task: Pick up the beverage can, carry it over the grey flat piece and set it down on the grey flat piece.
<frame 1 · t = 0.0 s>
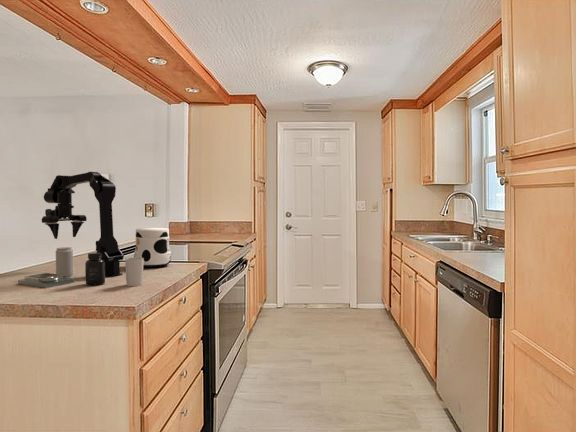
hand: (65, 237, 193), 15 cm above the worktop, tool pointing down, fingers open, 9 cm apart
beverage can: (64, 276, 180), on the worktop
supplement bottle: (95, 284, 164), on the worktop
grey flat piece: (46, 283, 165), on the worktop
drinking glass: (134, 285, 163), on the worktop
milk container: (152, 266, 207), on the worktop
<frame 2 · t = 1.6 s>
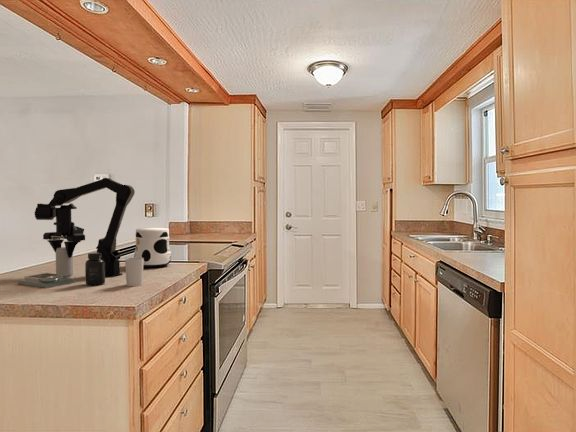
hand: (64, 257, 179), 8 cm above the worktop, tool pointing down, fingers closed on beverage can, 6 cm apart
beverage can: (64, 276, 180), on the worktop, touching gripper
everything else where it was.
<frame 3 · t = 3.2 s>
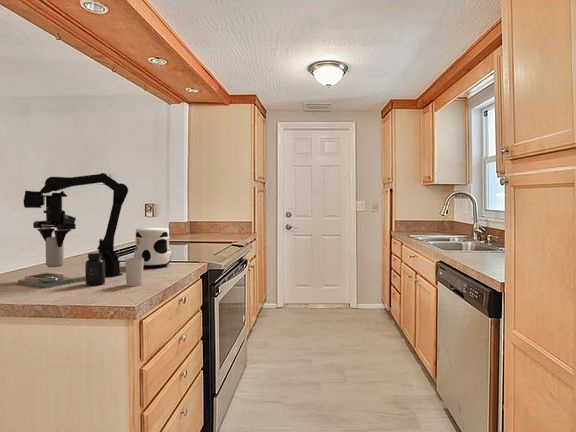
hand: (54, 246, 173), 13 cm above the worktop, tool pointing down, fingers closed on beverage can, 6 cm apart
beverage can: (54, 266, 174), point 5 cm above the worktop, touching gripper
everything else where it was.
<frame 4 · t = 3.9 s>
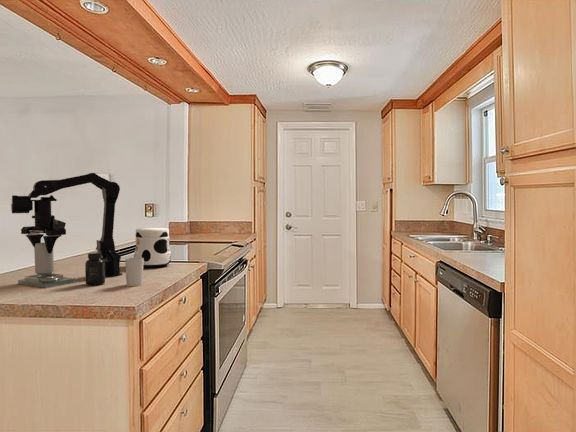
hand: (44, 252, 167), 11 cm above the worktop, tool pointing down, fingers closed on beverage can, 6 cm apart
beverage can: (44, 274, 167), point 3 cm above the worktop, touching gripper
everything else where it was.
when the fingers open (10 cm above the worktop, at t = 4.5 s): beverage can stays where it is, resting on grey flat piece.
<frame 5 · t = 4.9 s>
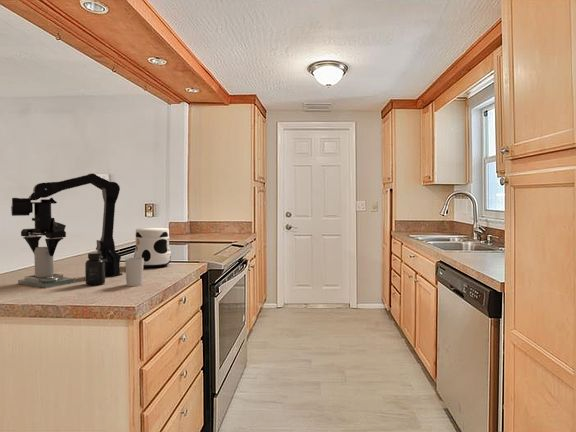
hand: (43, 255, 167), 10 cm above the worktop, tool pointing down, fingers open, 9 cm apart
beverage can: (44, 278, 167), point 2 cm above the worktop, touching grey flat piece
everything else where it was.
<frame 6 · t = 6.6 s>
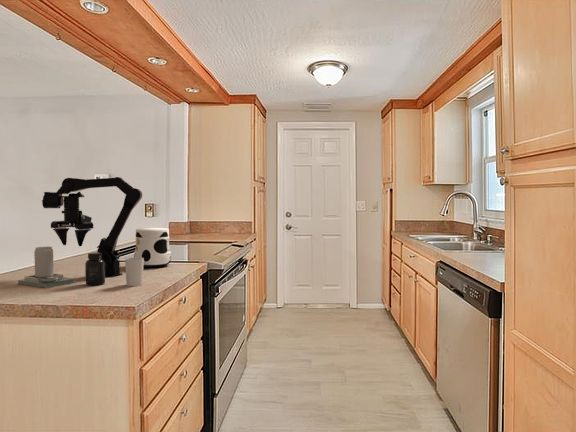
hand: (72, 245, 178), 13 cm above the worktop, tool pointing down, fingers open, 9 cm apart
nothing on the worktop moved.
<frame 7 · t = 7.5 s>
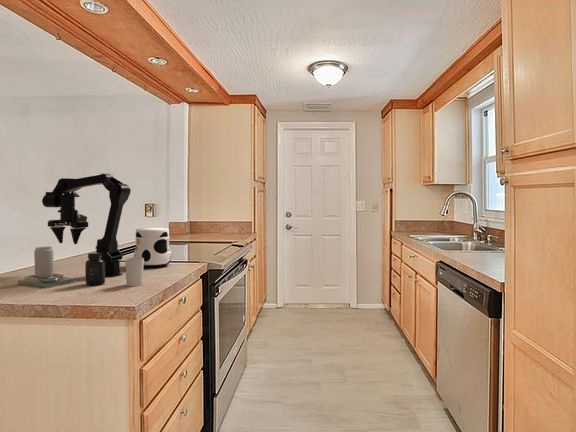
hand: (68, 243, 185), 13 cm above the worktop, tool pointing down, fingers open, 9 cm apart
nothing on the worktop moved.
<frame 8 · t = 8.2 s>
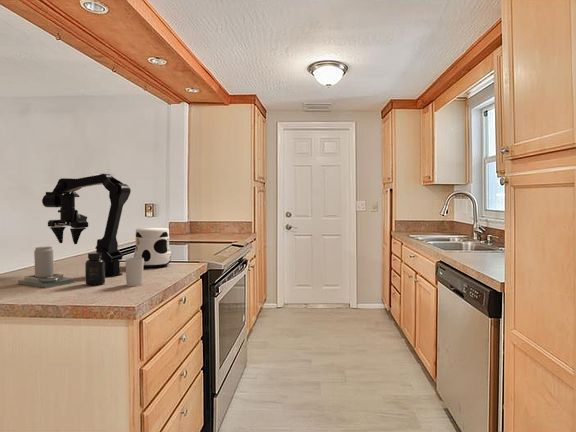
hand: (68, 243, 185), 13 cm above the worktop, tool pointing down, fingers open, 9 cm apart
nothing on the worktop moved.
at the end: beverage can 0.1 cm from the target spot on the grey flat piece, point 1.5 cm above the grey flat piece's base; beverage can tilted 0°; the gripper is holding nothing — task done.
